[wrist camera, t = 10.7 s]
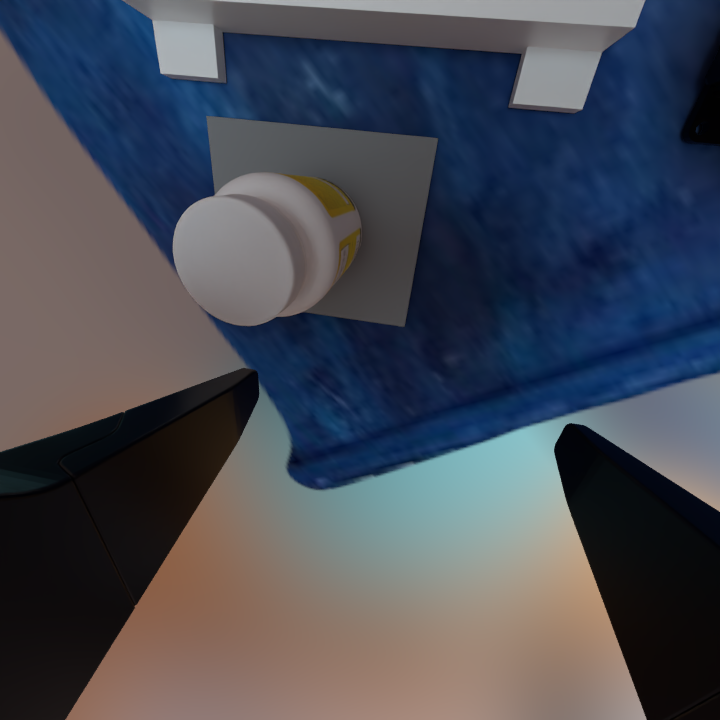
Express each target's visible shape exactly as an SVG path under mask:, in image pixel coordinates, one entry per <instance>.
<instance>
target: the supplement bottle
mask: <svg viewBox="0 0 720 720" xmlns="http://www.w3.org/2000/svg"><path fill="white" fill-rule="evenodd" d="M361 239H362V226H361V220H360V216H359V213H358V210H357V208H356V206H355V204H354V202H353V201H352V199H351V198H350V197H349V196H348V194H347V193H346V192H345V191H344V190H343V189H341V188H340V187H339V186H338V185H336V184H334V183H332V182H330V181H328V180H325V179H322V178H317V177H308V176H298V175H287V174H280V173H271V172H258V173H250V174H246V175H242V176H240V177H237V178H235V179H233V180H232V181H230V182H228V183H227V184H225V185H224V186H223V187H222V188H221V189H220V190H219V191H218V192H217V193H216V194H215V196H212V197H208V198H204V199H202V200H199V201H198V202H196V203H194V204H193V205H191V206H190V207H189V208H188V209H187V210H186V211H185V212H184V213H183V215H182V216H181V218H180V220H179V221H178V223H177V226H176V229H175V233H174V238H173V255H174V261H175V265H176V269H177V272H178V274H179V277H180V279H181V281H182V283H183V285H184V287H185V288H186V290H187V291H188V293H189V294H190V295H191V296H192V298H193V299H194V300H195V301H196V302H197V303H198V304H199V305H200V306H201V307H202V308H203V309H204V310H206V311H207V312H208V313H210V314H211V315H213V316H214V317H216V318H218V319H220V320H222V321H225V322H227V323H231V324H235V325H241V326H254V325H259V324H262V323H266V322H268V321H270V320H272V319H273V318H275V317H285V316H291V315H295V314H298V313H301V312H303V311H306V310H308V309H309V308H311V307H312V306H314V305H315V304H316V303H318V302H319V301H320V300H321V299H322V298H323V297H324V296H325V295H326V294H327V293H328V291H329V290H330V289H331V288H332V286H333V285H334V284H335V283H336V282H337V281H338V279H339V278H340V277H341V276H342V275H343V274H344V272H345V271H346V270H347V269H348V268H349V266H350V265H351V264H352V263H353V261H354V259H355V258H356V256H357V253H358V251H359V248H360V245H361Z"/></svg>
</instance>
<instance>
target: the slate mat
mask: <svg viewBox="0 0 720 720" xmlns="http://www.w3.org/2000/svg"><path fill="white" fill-rule="evenodd" d="M207 125H208V134H209V143H210V153H211V162H212V171H213V180H214V189H215V194H216V193H217V192H218V191H219V190H220V189H221V188H222V187H223V186H224V185H225V184H227V183H228V182H230V181H232V180H233V179H235V178H237V177H240V176H242V175H246V174H250V173H258V172H271V173H280V174H287V175H298V176H308V177H317V178H322V179H325V180H328V181H330V182H332V183H334V184H336V185H338V186H339V187H340V188H341V189H343V190H344V191H345V192H346V193H347V194H348V196H349V197H350V198H351V199H352V201H353V202H354V204H355V206H356V208H357V210H358V213H359V216H360V220H361V226H362V239H361V245H360V248H359V251H358V253H357V256H356V258H355V259H354V261H353V263H352V264H351V265H350V266H349V268H348V269H347V270H346V271H345V272H344V274H343V275H342V276H341V277H340V278H339V279H338V281H337V282H336V283H335V284H334V285H333V286H332V288H331V289H330V290H329V291H328V293H327V294H326V295H325V296H324V297H323V298H322V299H321V300H320V301H319V302H318V303H316V304H315V305H314V306H312V307H311V308H309V309H308V310H306V311H303V312H307V313H313V314H320V315H327V316H334V317H341V318H347V319H354V320H361V321H368V322H375V323H381V324H388V325H395V326H402V327H405V321H406V316H407V310H408V305H409V299H410V293H411V288H412V282H413V277H414V271H415V265H416V260H417V254H418V248H419V243H420V237H421V232H422V226H423V220H424V215H425V209H426V204H427V198H428V192H429V187H430V181H431V176H432V170H433V164H434V159H435V153H436V148H437V142H438V138H430V137H420V136H409V135H399V134H389V133H378V132H368V131H357V130H347V129H337V128H326V127H316V126H305V125H295V124H285V123H274V122H264V121H253V120H243V119H233V118H222V117H212V116H207Z"/></svg>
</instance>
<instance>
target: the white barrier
mask: <svg viewBox="0 0 720 720" xmlns="http://www.w3.org/2000/svg"><path fill="white" fill-rule="evenodd" d="M123 1H124V2H126V3H127V4H129V5H130V6H132V7H133V8H135V9H136V10H138V11H139V12H141V13H142V14H144V15H145V16H147V17H148V18H150V19H152V21H153V27H154V34H155V40H156V46H157V53H158V59H159V66H160V72H161V74H163V75H165V76H167V77H170V78H172V79H184V80H195V81H207V82H218V83H227V82H226V69H225V57H224V45H223V33H222V32H228V33H242V34H256V35H270V36H283V37H297V38H311V39H325V40H339V41H352V42H366V43H380V44H394V45H408V46H421V47H435V48H449V49H463V50H477V51H490V52H504V53H518V54H522V55H521V59H520V63H519V67H518V71H517V75H516V79H515V83H514V87H513V90H512V94H511V98H510V102H509V106H508V108H519V109H530V110H542V111H553V112H565V113H576V112H578V111H580V110H582V109H583V106H584V103H585V100H586V97H587V94H588V92H589V89H590V86H591V83H592V80H593V77H594V74H595V71H596V68H597V66H598V63H599V60H600V57H601V54H602V52H603V51H604V50H605V49H607V48H608V47H609V46H611V45H612V44H613V43H615V42H616V41H617V40H619V39H620V38H622V37H623V36H624V35H626V34H627V33H628V32H630V31H631V30H632V29H634V28H635V26H636V23H637V21H638V18H639V15H640V13H641V10H642V7H643V5H644V2H645V0H123Z"/></svg>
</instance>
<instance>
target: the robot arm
mask: <svg viewBox="0 0 720 720" xmlns="http://www.w3.org/2000/svg"><path fill="white" fill-rule="evenodd" d="M700 123H701V124H702V126H703V128H702V131H701V132H700V134H698V135H697V134H696V128H697V126H698V125H699V124H700ZM682 138H683V140H684V141H685V142H687V143H692V144H703V145H714V146H720V48H719V50H718V52H717V54H716V56H715V58H714V60H713V62H712V64H711V67H710V69H709V71H708V73H707V75H706V84H705V86H704V88H703V90H702V92H701V94H700V96H699V98H698V100H697V102H696V104H695V106H694V108H693V111H692V113H691V115H690V117H689V119H688V121H687V123H686V125H685V127H684V130H683V133H682ZM258 398H259V382H258V373H257V371H256V370H253V369H247V368H242V369H239V370H236V371H234V372H231V373H228V374H225V375H223V376H220V377H217V378H214V379H212V380H209V381H206V382H204V383H201V384H198V385H195V386H192V387H190V388H187V389H184V390H182V391H179V392H176V393H173V394H171V395H168V396H165V397H162V398H160V399H157V400H154V401H152V402H149V403H146V404H143V405H140V406H138V407H135V408H132V409H129V410H127V411H125V413H124V412H121V413H118V414H116V415H113V416H110V417H107V418H105V419H102V420H99V421H96V422H93V423H90V424H87V425H84V426H82V427H78V428H75V429H72V430H69V431H66V432H63V433H60V434H57V435H53V436H50V437H47V438H44V439H41V440H37V441H34V442H31V443H28V444H24V445H21V446H18V447H15V448H12V449H9V450H5V451H2V452H0V720H65V719H66V718H67V716H68V714H69V713H70V711H71V710H72V708H73V706H74V705H75V703H76V702H77V700H78V698H79V697H80V695H81V693H82V692H83V690H84V689H85V687H86V686H87V684H88V682H89V681H90V679H91V678H92V676H93V674H94V673H95V671H96V670H97V668H98V666H99V665H100V663H101V661H102V660H103V658H104V657H105V655H106V653H107V652H108V650H109V649H110V647H111V645H112V644H113V642H114V640H115V639H116V637H117V636H118V634H119V633H120V631H121V629H122V628H123V626H124V625H125V623H126V621H127V620H128V618H129V617H130V615H131V613H132V612H133V610H134V608H135V605H137V603H138V602H139V600H140V598H141V597H142V595H143V594H144V592H145V590H146V589H147V587H148V585H149V584H150V582H151V581H152V579H153V578H154V576H155V574H156V573H157V571H158V570H159V568H160V566H161V565H162V563H163V561H164V560H165V558H166V557H167V555H168V554H169V552H170V550H171V549H172V547H173V546H174V544H175V542H176V541H177V539H178V537H179V536H180V534H181V533H182V531H183V529H184V528H185V526H186V525H187V523H188V521H189V520H190V518H191V517H192V515H193V513H194V512H195V510H196V509H197V507H198V505H199V504H200V502H201V501H202V499H203V497H204V495H205V494H206V493H207V491H208V489H209V488H210V486H211V485H212V483H213V481H214V480H215V478H216V477H217V475H218V473H219V472H220V470H221V469H222V467H223V465H224V464H225V462H226V460H227V459H228V457H229V456H230V454H231V452H232V451H233V449H234V447H235V446H236V444H237V442H238V441H239V439H240V436H241V435H242V433H243V430H244V428H245V426H246V424H247V422H248V420H249V418H250V416H251V414H252V412H253V409H254V407H255V405H256V403H257V401H258ZM554 453H555V458H556V461H557V466H558V470H559V474H560V478H561V482H562V486H563V490H564V493H565V497H566V501H567V504H568V507H569V510H570V512H571V516H572V518H573V521H574V524H575V527H576V529H577V532H578V535H579V537H580V540H581V543H582V545H583V548H584V551H585V554H586V556H587V559H588V562H589V564H590V567H591V570H592V572H593V575H594V578H595V580H596V583H597V586H598V589H599V592H600V594H601V597H602V599H603V602H604V605H605V608H606V610H607V613H608V616H609V618H610V621H611V624H612V627H613V629H614V632H615V635H616V638H617V640H618V643H619V646H620V648H621V651H622V654H623V656H624V659H625V662H626V665H627V667H628V670H629V673H630V675H631V678H632V681H633V683H634V686H635V689H636V692H637V694H638V697H639V699H640V702H641V705H642V708H643V710H644V713H645V716H646V719H647V720H720V512H719V511H718V510H716V509H714V508H713V507H711V506H710V505H708V504H707V503H705V502H703V501H702V500H700V499H699V498H697V497H696V496H694V495H693V494H691V493H689V492H688V491H686V490H685V489H683V488H682V487H680V486H679V485H677V484H675V483H674V482H672V481H671V480H669V479H667V478H666V477H664V476H663V475H661V474H660V473H658V472H657V471H655V470H653V469H652V468H650V467H649V466H647V465H646V464H644V463H643V462H641V461H640V460H638V459H636V458H635V457H633V456H632V455H630V454H629V453H627V452H625V451H624V450H622V449H621V448H619V447H617V446H616V445H615V444H613V443H611V442H610V441H608V440H607V439H605V438H604V437H602V436H601V435H599V434H597V433H596V432H594V431H592V430H591V429H590V428H588V427H586V426H584V425H579V424H572V423H570V424H567V425H566V426H565V428H564V429H563V431H562V433H561V435H560V437H559V439H558V440H557V442H556V444H555V448H554Z"/></svg>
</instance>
